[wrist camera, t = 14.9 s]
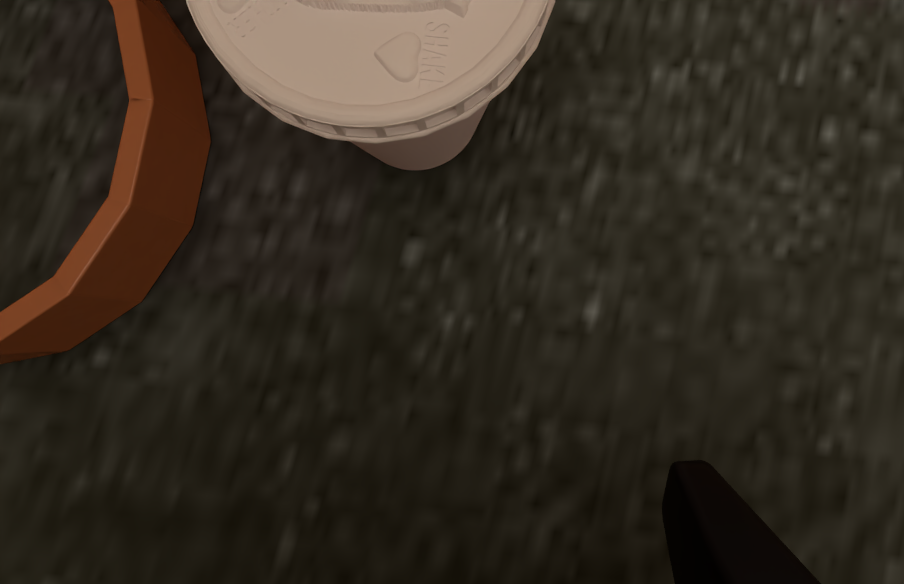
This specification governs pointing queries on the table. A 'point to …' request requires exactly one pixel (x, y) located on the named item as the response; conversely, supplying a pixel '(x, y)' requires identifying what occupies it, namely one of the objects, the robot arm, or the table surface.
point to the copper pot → (127, 195)
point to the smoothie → (376, 66)
